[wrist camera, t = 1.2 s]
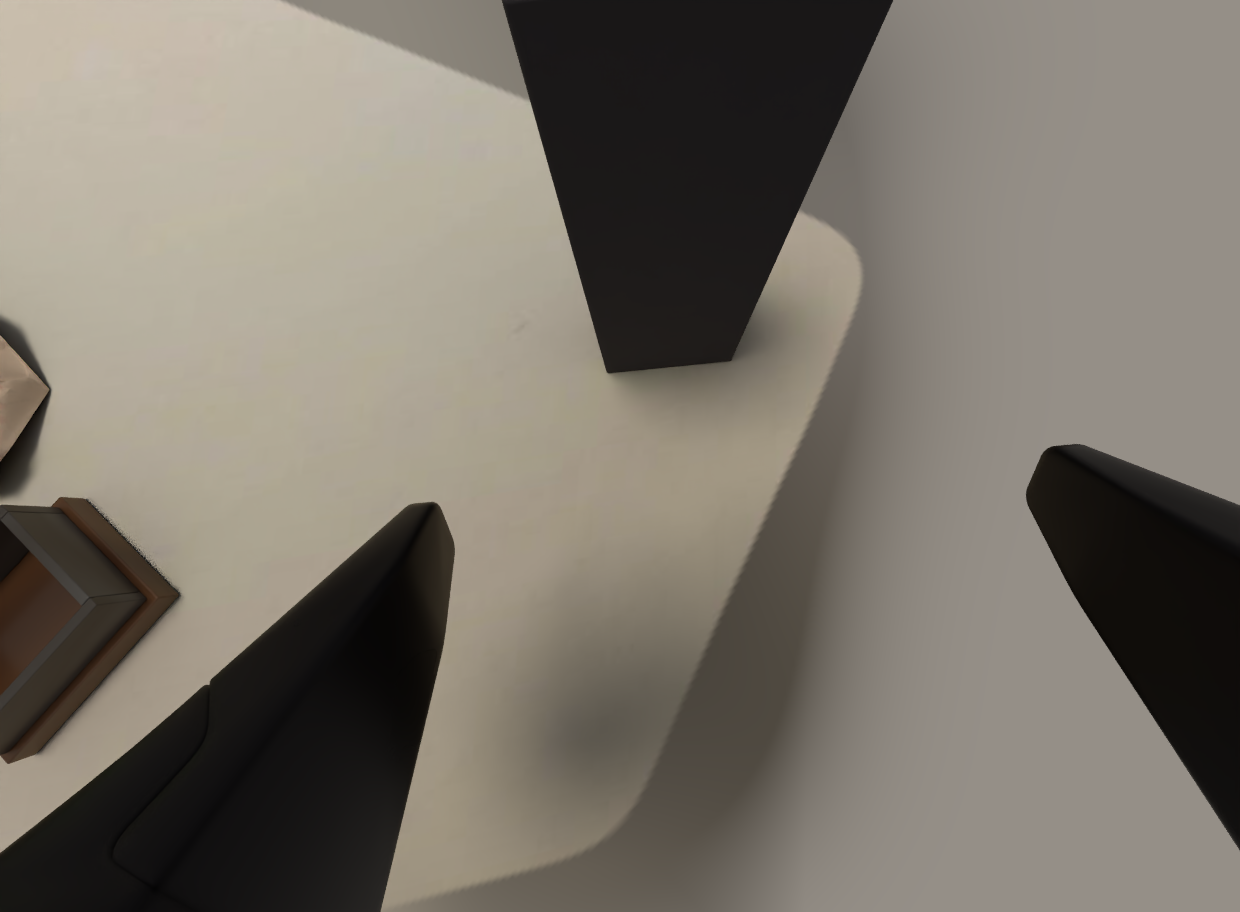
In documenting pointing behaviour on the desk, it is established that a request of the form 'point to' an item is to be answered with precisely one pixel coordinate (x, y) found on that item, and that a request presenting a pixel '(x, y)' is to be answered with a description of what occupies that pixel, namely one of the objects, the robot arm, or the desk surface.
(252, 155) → the desk surface
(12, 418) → the bear figurine
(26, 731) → the seat base
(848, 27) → the back pad
